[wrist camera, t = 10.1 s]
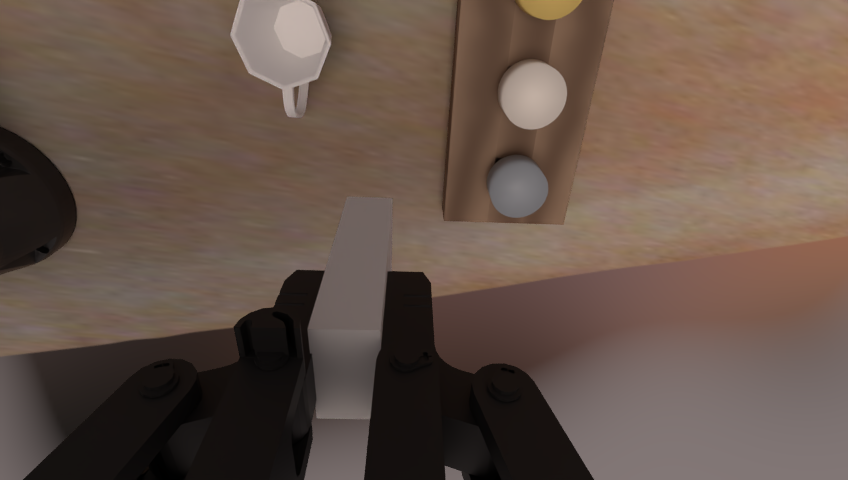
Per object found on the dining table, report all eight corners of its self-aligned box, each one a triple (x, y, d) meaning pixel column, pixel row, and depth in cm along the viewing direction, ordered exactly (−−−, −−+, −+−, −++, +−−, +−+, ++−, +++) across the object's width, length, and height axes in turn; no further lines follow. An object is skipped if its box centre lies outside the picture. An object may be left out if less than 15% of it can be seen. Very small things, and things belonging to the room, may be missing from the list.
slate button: (480, 193, 45) (487, 216, 41) (485, 144, 43) (494, 163, 38) (529, 194, 45) (542, 218, 41) (538, 146, 43) (553, 165, 38)
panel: (442, 207, 48) (443, 220, 45) (465, -100, 35) (469, -106, 32) (555, 211, 48) (563, 224, 46) (618, -90, 35) (635, -96, 33)
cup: (345, -15, 38) (330, -13, 31) (345, 108, 42) (332, 133, 35) (258, -23, 37) (222, -23, 30) (269, 102, 42) (240, 126, 35)
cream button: (489, 111, 41) (499, 128, 37) (496, 52, 39) (507, 62, 34) (544, 114, 42) (560, 130, 37) (554, 55, 39) (573, 65, 35)
